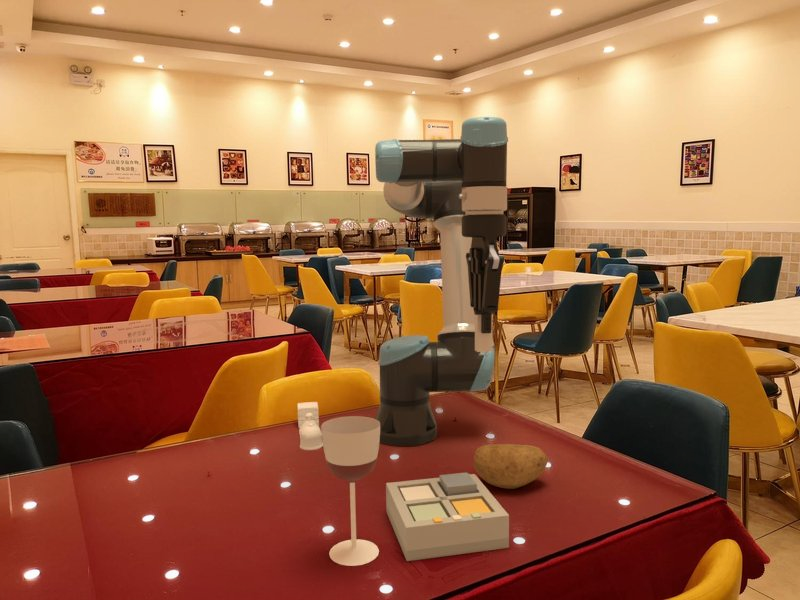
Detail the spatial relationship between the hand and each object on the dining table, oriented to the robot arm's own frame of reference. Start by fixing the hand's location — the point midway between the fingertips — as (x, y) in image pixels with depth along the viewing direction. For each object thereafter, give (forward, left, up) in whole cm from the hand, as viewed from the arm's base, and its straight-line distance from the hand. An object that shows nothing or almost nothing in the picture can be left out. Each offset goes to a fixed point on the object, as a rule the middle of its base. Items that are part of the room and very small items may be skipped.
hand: (483, 350), depth 104 cm
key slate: (+4, -6, -24) cm, 25 cm away
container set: (-43, -28, -28) cm, 59 cm away
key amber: (+11, -6, -25) cm, 28 cm away
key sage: (+11, -13, -25) cm, 30 cm away
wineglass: (+11, -25, -28) cm, 39 cm away
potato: (-5, +7, -28) cm, 29 cm away
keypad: (+8, -10, -27) cm, 30 cm away
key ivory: (+4, -13, -25) cm, 29 cm away
